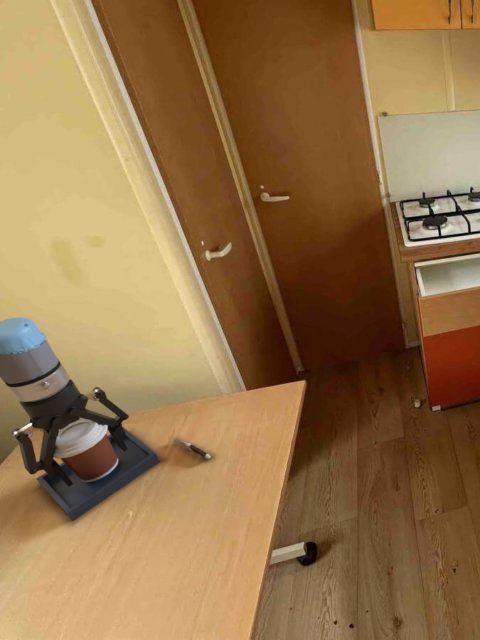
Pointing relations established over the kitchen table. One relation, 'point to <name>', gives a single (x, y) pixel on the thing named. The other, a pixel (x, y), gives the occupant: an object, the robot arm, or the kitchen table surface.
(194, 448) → the pocket knife
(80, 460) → the coffee cup
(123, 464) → the tray
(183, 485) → the kitchen table surface
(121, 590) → the kitchen table surface
